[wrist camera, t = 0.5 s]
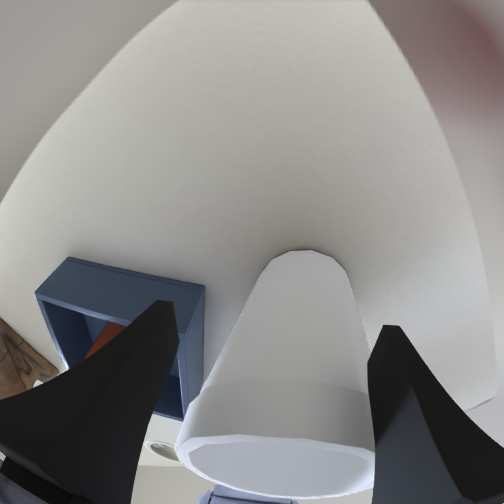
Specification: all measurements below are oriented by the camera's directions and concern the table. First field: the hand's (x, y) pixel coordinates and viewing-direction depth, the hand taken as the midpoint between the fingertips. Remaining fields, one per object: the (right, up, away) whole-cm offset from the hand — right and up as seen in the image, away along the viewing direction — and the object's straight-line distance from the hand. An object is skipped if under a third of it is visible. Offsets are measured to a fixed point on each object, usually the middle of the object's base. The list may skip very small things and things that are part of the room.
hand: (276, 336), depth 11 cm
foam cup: (+3, 0, +11) cm, 12 cm away
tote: (-11, -4, +16) cm, 20 cm away
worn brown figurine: (-32, -10, +23) cm, 41 cm away
